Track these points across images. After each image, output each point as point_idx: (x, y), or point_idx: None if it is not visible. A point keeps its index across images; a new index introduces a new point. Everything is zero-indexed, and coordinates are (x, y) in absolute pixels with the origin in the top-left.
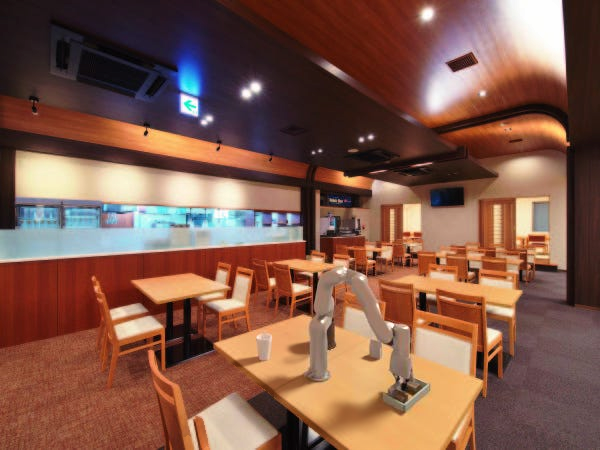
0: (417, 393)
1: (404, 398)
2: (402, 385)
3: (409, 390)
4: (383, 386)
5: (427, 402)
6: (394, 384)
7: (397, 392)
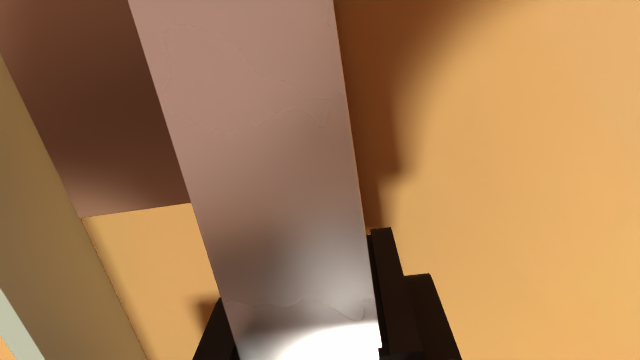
0: (33, 353)
1: (23, 65)
2: None
3: None
4: (617, 138)
5: None
6: (324, 154)
7: None
